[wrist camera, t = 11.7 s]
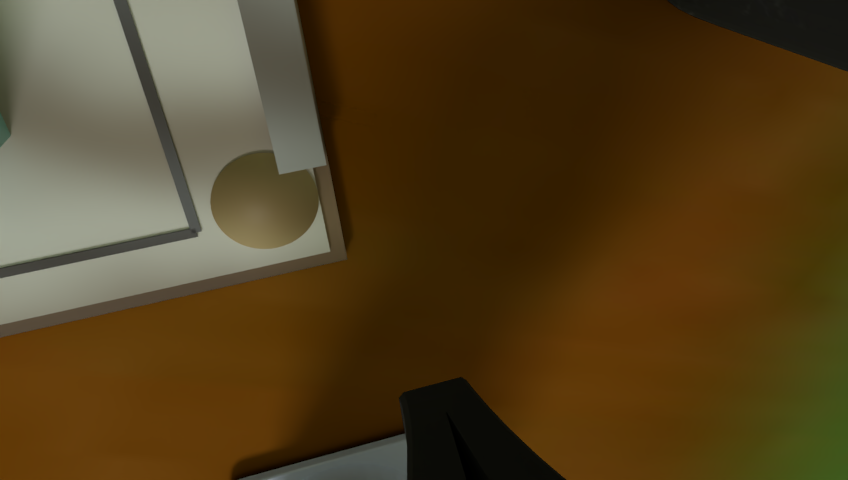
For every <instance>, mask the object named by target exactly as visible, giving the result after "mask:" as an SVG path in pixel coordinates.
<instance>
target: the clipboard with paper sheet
mask: <svg viewBox="0 0 848 480" xmlns="http://www.w3.org/2000/svg"><path fill="white" fill-rule="evenodd" d="M0 113H1V115H2V117H3V119H4V121H5V124H6V126H7V128H8V130H9V132H10V134H11V136H10V137H9V138H8V139H7V140H6V142H5V143H4V144H3V145H2V146H1V147H0V337H4V336H8V335H13V334H17V333H22V332H26V331H31V330H35V329H40V328H44V327H48V326H53V325H57V324H62V323H66V322H71V321H75V320H80V319H84V318H88V317H93V316H97V315H102V314H106V313H111V312H115V311H120V310H124V309H128V308H133V307H137V306H142V305H146V304H151V303H155V302H160V301H164V300H169V299H173V298H177V297H182V296H186V295H191V294H195V293H200V292H204V291H209V290H213V289H217V288H222V287H226V286H231V285H235V284H240V283H244V282H249V281H253V280H257V279H262V278H266V277H271V276H275V275H280V274H284V273H289V272H293V271H297V270H302V269H306V268H311V267H315V266H320V265H324V264H329V263H333V262H337V261H342V260H346V259H347V255H346V250H345V245H344V240H343V235H342V230H341V224H340V219H339V214H338V209H337V204H336V199H335V194H334V189H333V183H332V178H331V173H330V168H329V163H328V158H327V153H326V148H325V143H324V137H323V132H322V127H321V122H320V117H319V112H318V107H317V102H316V97H315V91H314V86H313V81H312V76H311V71H310V66H309V61H308V56H307V51H306V45H305V40H304V35H303V30H302V25H301V20H300V15H299V10H298V4H297V0H0Z"/></svg>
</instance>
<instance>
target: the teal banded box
mask: <svg viewBox="0 0 848 480" xmlns="http://www.w3.org/2000/svg"><path fill="white" fill-rule="evenodd" d="M10 136H11V134H10V132H9V130H8V128H7V126H6V124H5V121H4V119H3V117H2V115H1V113H0V147H1V146H2V145H3V144H4V143H5V142H6V140H7V139H8V138H9V137H10Z"/></svg>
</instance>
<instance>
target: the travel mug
mask: <svg viewBox="0 0 848 480" xmlns="http://www.w3.org/2000/svg"><path fill="white" fill-rule="evenodd" d="M668 1H669V2H670V3H671V4H673V5H674V6H675V7H677V8H678V9H680V10H682V11H684V12H686V13H688V14H690V15H692V16H694V17H696V18H699V19H702V20H704V21H707V22H710V23H712V24H715V25H718V26H720V27H723V28H726V29H729V30H732V31H734V32H737V33H740V34H743V35H746V36H749V37H751V38H754V39H757V40H760V41H763V42H766V43H768V44H771V45H774V46H777V47H780V48H783V49H785V50H788V51H791V52H794V53H797V54H800V55H802V56H805V57H808V58H811V59H814V60H817V61H820V62H822V63H825V64H828V65H831V66H834V67H837V68H839V69H842V70H845V71H848V0H668Z"/></svg>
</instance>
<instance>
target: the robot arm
mask: <svg viewBox="0 0 848 480" xmlns="http://www.w3.org/2000/svg"><path fill="white" fill-rule="evenodd" d="M399 401H400V407H401V413H402V419H403V424H404V430H405V434H401V435H397V436H394V437H390V438H387V439H383V440H379V441H376V442H372V443H368V444H365V445H361V446H358V447H354V448H350V449H347V450H343V451H339V452H336V453H332V454H328V455H325V456H321V457H318V458H314V459H310V460H307V461H303V462H299V463H296V464H292V465H289V466H285V467H281V468H278V469H274V470H270V471H267V472H263V473H259V474H256V475H252V476H249V477H245V478H241V479H238V480H566V479H565V478H563V477H562V476H561V475H560V474H559V473H558V472H556V471H555V470H554V469H553V468H552V467H550V466H549V465H548V464H547V463H546V462H545V461H543V460H542V459H541V458H540V457H539V456H538V455H537V454H536V453H535V452H533V451H532V450H531V449H530V448H529V447H528V446H527V445H526V444H525V443H524V442H523V441H522V440H521V439H520V438H519V437H518V436H517V435H516V434H515V433H514V432H512V431H511V430H510V429H509V428H508V427H507V426H506V425H505V424H504V422H503V421H502V420H501V419H500V418H499V417H498V416H497V415H496V414H495V413H494V412H493V411H492V410H491V409H490V408H489V407H488V405H487V404H486V403H485V402H484V401H483V400H482V399H481V398H480V396H479V395H478V394H477V393H476V392H475V390H474V389H473V388H472V387H471V386H470V384H469V383H468V382H467V380H465V379H463V378H462V377H460V378H456V379H452V380H448V381H445V382H441V383H437V384H433V385H429V386H426V387H422V388H418V389H414V390H410V391H407V392H404V393H403V394H402V395H401V396H400V397H399Z"/></svg>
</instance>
